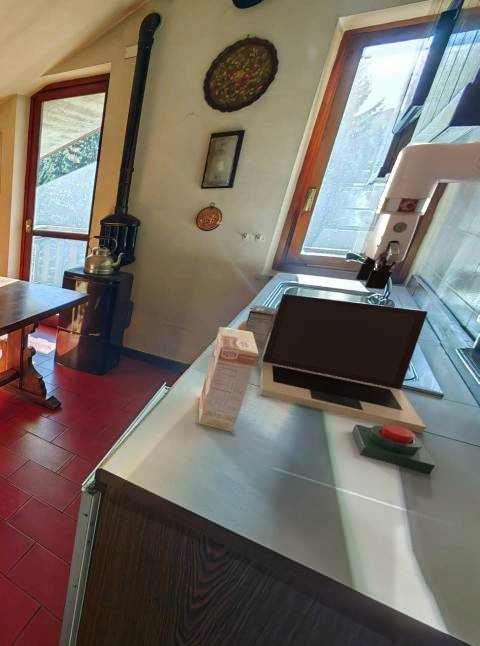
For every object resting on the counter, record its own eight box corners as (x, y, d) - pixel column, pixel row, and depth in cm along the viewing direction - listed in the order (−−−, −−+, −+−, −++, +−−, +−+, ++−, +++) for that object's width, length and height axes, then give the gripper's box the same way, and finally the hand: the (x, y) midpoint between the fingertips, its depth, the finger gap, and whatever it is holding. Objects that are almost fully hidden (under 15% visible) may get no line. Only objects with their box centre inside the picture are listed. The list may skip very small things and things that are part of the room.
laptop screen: (428, 311, 100) (426, 311, 100) (283, 293, 115) (282, 293, 116) (401, 389, 102) (399, 389, 103) (262, 361, 118) (262, 361, 119)
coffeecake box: (199, 396, 102) (218, 326, 94) (231, 403, 99) (254, 331, 91) (197, 424, 90) (219, 346, 82) (233, 433, 87) (260, 353, 79)
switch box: (414, 448, 82) (423, 432, 81) (429, 474, 75) (440, 458, 73) (351, 432, 87) (358, 417, 86) (359, 455, 80) (368, 439, 78)
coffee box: (240, 350, 130) (254, 304, 124) (264, 355, 126) (279, 308, 120) (235, 359, 124) (249, 310, 118) (259, 364, 120) (275, 315, 114)
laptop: (422, 433, 87) (426, 426, 86) (260, 394, 103) (262, 388, 102) (397, 395, 103) (401, 389, 102) (260, 366, 119) (262, 361, 118)
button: (407, 436, 80) (411, 428, 79) (413, 446, 77) (417, 439, 76) (378, 428, 82) (381, 421, 82) (383, 439, 79) (386, 431, 78)
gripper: (441, 209, 76) (402, 294, 83) (413, 206, 90) (381, 279, 96) (388, 208, 80) (355, 289, 87) (369, 205, 93) (341, 275, 100)
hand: (369, 284), depth 92 cm, fingers open, 9 cm apart
